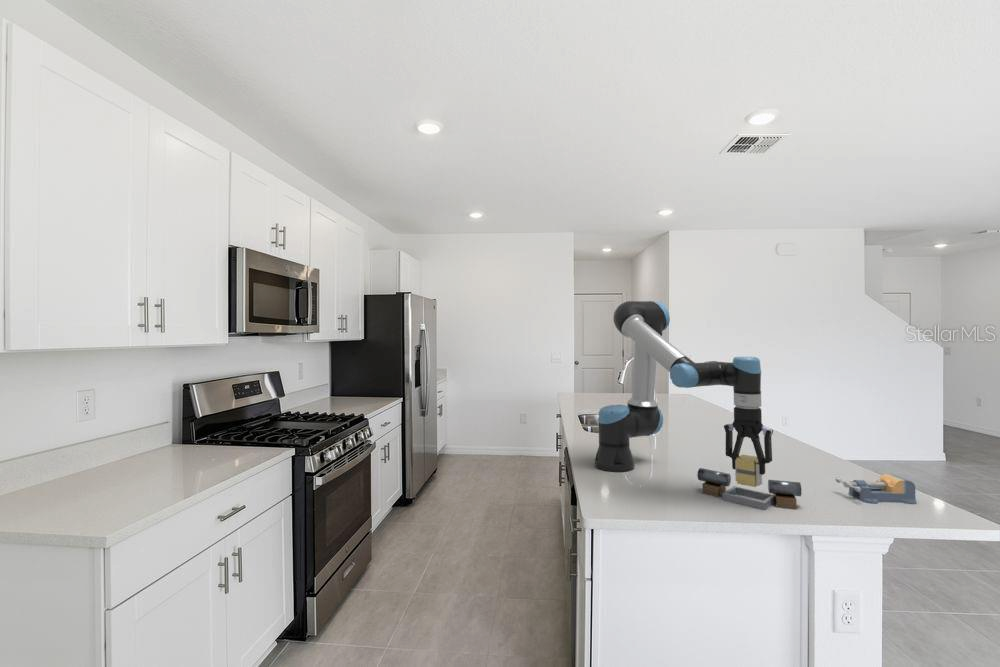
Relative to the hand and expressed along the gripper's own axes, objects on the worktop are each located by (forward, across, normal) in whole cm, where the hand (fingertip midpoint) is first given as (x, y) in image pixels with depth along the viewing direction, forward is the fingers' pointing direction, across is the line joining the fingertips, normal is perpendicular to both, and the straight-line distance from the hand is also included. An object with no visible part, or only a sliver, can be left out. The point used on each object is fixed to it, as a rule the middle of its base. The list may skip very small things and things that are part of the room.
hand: (748, 482), depth 142 cm
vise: (+6, +27, +29) cm, 40 cm away
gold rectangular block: (0, 0, 0) cm, 0 cm away
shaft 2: (+6, +9, +4) cm, 11 cm away
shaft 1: (+6, -10, 0) cm, 12 cm away
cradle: (+6, 0, 0) cm, 6 cm away
